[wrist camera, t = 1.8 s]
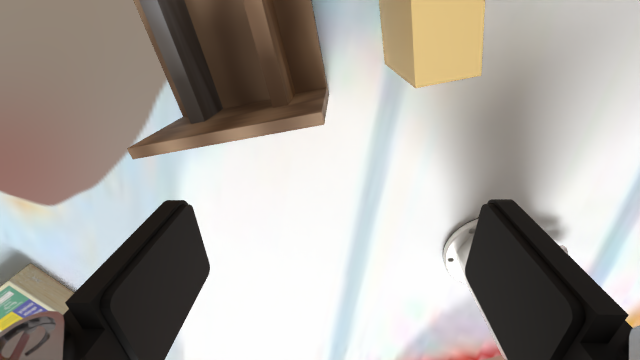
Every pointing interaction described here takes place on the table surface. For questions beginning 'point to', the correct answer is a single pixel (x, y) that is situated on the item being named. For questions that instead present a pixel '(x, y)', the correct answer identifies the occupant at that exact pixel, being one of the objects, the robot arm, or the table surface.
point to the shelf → (235, 70)
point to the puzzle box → (31, 296)
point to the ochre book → (433, 39)
